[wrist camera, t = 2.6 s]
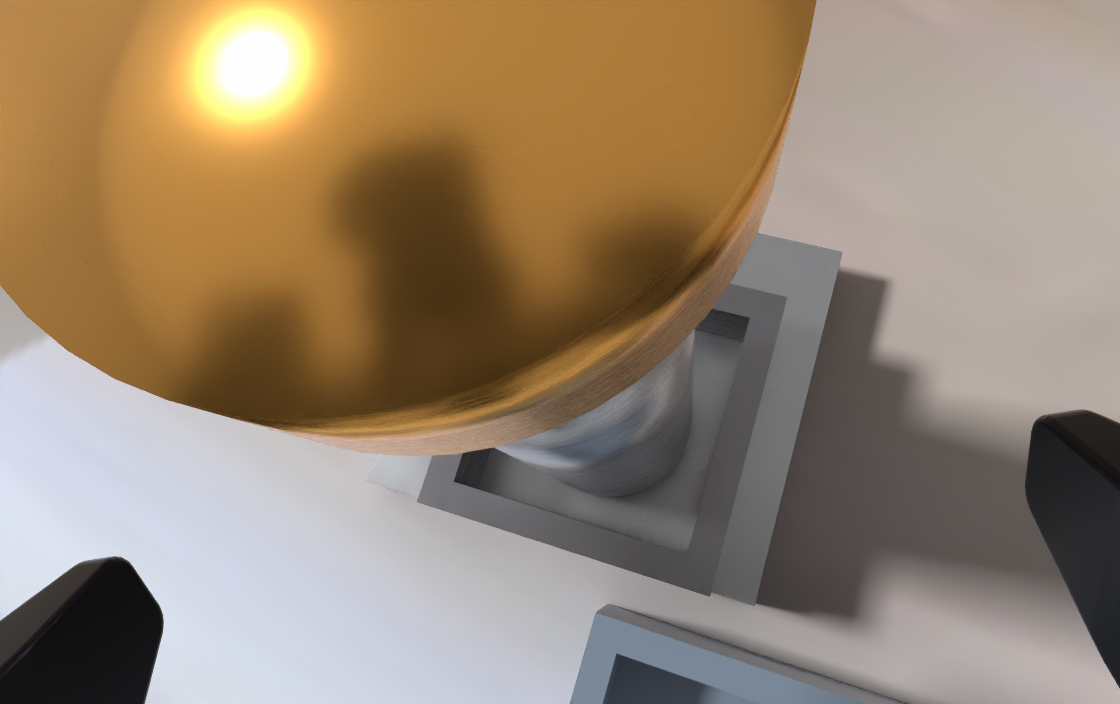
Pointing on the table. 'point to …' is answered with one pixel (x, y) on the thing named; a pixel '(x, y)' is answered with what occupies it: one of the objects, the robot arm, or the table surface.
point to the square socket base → (707, 461)
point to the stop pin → (397, 210)
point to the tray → (692, 669)
